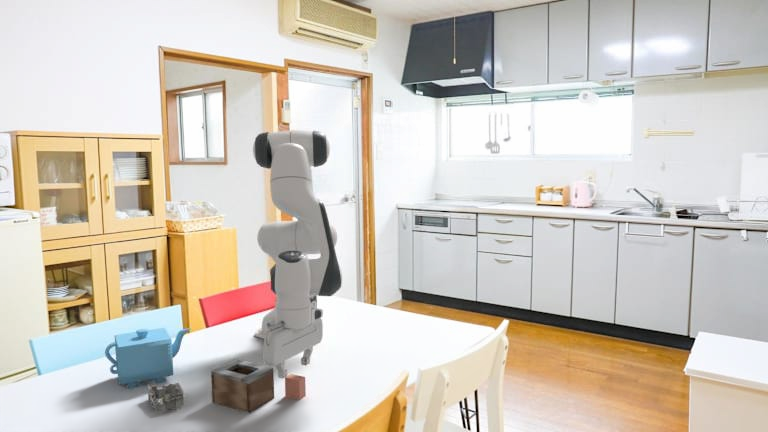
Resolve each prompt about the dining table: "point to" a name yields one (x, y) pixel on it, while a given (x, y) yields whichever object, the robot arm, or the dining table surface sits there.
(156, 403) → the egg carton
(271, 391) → the box
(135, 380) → the teapot
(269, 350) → the robot arm
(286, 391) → the block
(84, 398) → the dining table surface
